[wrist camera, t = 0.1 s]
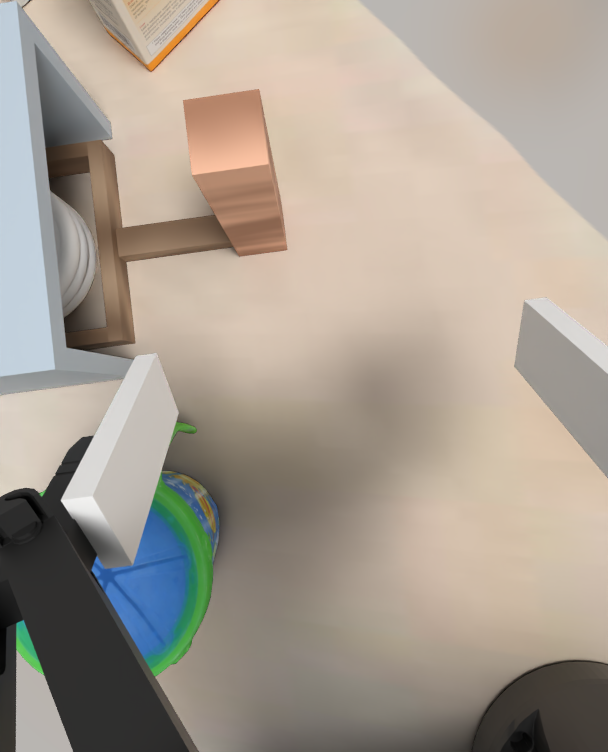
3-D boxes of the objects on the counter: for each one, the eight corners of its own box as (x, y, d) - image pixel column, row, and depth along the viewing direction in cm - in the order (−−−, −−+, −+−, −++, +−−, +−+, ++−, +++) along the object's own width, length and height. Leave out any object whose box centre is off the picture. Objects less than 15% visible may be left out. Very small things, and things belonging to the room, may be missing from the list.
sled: (296, 321, 32) (283, 278, 20) (-53, 368, 32) (-271, 353, 20) (272, 132, 32) (244, -22, 20) (-71, 181, 33) (-292, 61, 21)
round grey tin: (-60, 265, 33) (-105, 249, 30) (33, 168, 33) (-1, 142, 30) (33, 357, 33) (-2, 353, 29) (127, 259, 33) (104, 243, 29)
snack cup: (139, 393, 32) (55, 393, 22) (276, 443, 31) (256, 468, 21) (62, 600, 32) (-59, 698, 21) (200, 654, 31) (142, 781, 21)
